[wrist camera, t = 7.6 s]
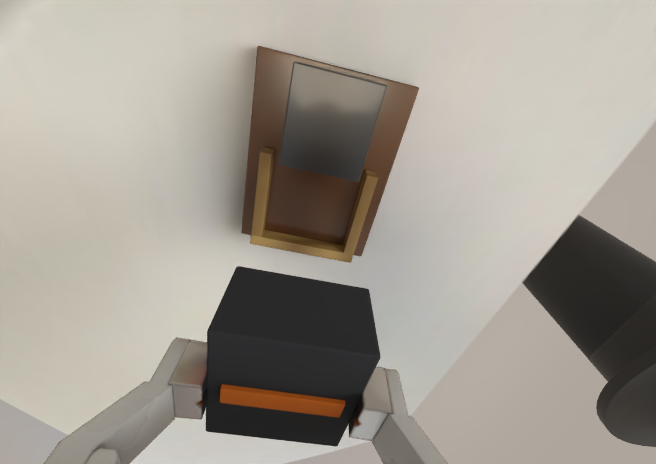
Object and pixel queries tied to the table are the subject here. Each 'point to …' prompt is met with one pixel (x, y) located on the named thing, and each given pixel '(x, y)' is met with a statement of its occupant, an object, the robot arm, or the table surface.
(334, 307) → the black block with stripe
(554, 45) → the table surface
